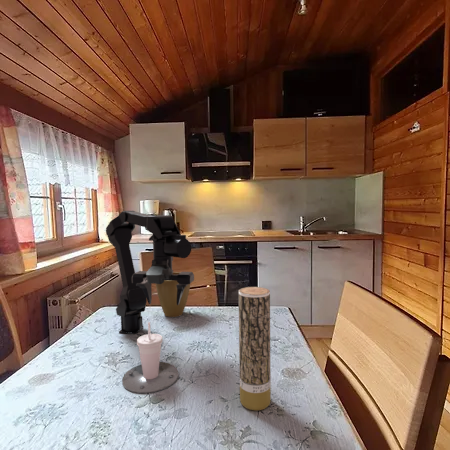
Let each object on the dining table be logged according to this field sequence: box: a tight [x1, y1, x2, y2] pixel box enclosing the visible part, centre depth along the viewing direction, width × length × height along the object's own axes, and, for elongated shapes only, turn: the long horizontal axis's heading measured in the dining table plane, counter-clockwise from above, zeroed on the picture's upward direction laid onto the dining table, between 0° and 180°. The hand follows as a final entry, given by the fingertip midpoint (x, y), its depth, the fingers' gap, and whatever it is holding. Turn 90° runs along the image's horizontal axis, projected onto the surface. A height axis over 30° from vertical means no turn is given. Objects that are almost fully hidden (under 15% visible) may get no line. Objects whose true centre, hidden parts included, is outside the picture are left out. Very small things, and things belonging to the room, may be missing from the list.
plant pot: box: [155, 271, 191, 318], centre depth 127 cm, size 15×15×16 cm
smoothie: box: [136, 321, 164, 379], centre depth 79 cm, size 6×6×14 cm
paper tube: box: [238, 286, 272, 411], centre depth 68 cm, size 7×7×25 cm
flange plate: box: [121, 361, 180, 394], centre depth 79 cm, size 14×14×1 cm
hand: (163, 304), depth 98 cm, fingers open, 9 cm apart
